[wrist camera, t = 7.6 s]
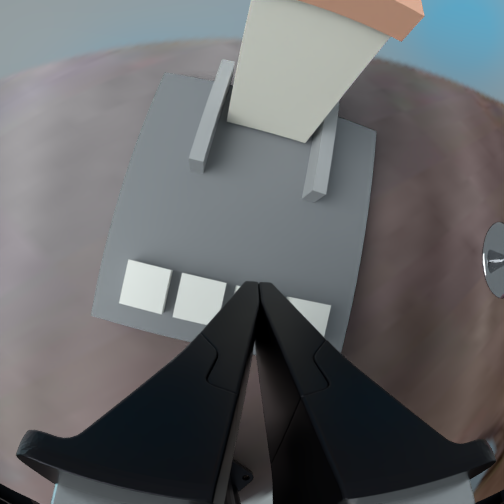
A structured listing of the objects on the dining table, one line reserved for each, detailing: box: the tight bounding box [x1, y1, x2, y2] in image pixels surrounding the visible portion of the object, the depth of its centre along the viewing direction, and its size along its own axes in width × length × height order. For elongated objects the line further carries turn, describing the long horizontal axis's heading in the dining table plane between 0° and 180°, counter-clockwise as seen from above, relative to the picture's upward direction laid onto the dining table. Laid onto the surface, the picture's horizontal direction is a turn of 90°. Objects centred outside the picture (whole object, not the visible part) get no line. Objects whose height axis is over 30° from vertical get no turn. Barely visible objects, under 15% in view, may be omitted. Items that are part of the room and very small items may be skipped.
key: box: [227, 0, 424, 143], centre depth 13 cm, size 5×6×12 cm
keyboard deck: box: [91, 59, 376, 355], centre depth 18 cm, size 16×15×3 cm
